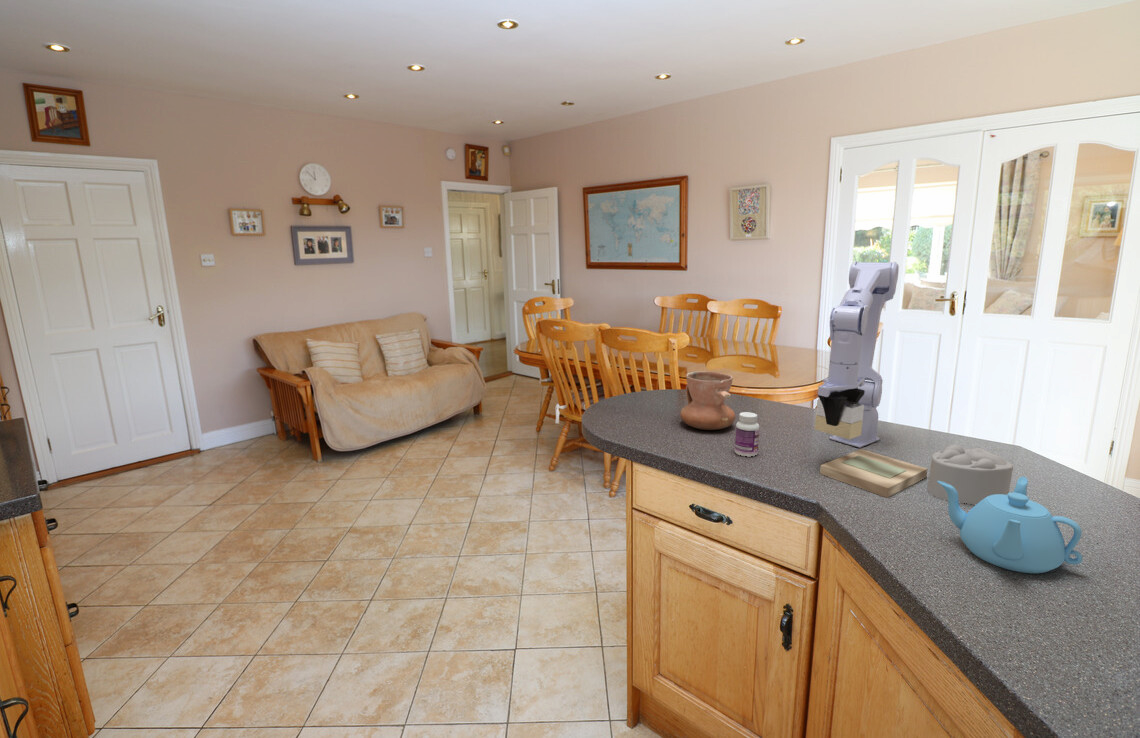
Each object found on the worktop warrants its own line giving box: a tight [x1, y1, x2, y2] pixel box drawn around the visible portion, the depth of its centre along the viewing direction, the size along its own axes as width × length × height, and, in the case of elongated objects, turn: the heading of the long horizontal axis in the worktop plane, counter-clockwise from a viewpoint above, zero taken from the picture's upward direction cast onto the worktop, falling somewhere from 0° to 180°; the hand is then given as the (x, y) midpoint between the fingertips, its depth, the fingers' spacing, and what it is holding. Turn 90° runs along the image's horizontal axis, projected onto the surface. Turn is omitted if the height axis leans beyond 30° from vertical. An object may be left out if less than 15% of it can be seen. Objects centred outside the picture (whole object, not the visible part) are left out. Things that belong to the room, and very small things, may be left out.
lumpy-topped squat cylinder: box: [926, 444, 1014, 505], centre depth 107 cm, size 10×13×9 cm
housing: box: [814, 399, 864, 439], centre depth 120 cm, size 8×4×7 cm, turn 34°
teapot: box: [937, 476, 1084, 575], centre depth 85 cm, size 15×15×10 cm
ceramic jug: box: [680, 370, 736, 431], centre depth 149 cm, size 18×14×14 cm
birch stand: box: [819, 448, 928, 499], centre depth 116 cm, size 16×14×2 cm
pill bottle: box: [734, 411, 760, 458], centre depth 129 cm, size 5×5×10 cm
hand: (838, 422), depth 120 cm, fingers closed on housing, 4 cm apart
